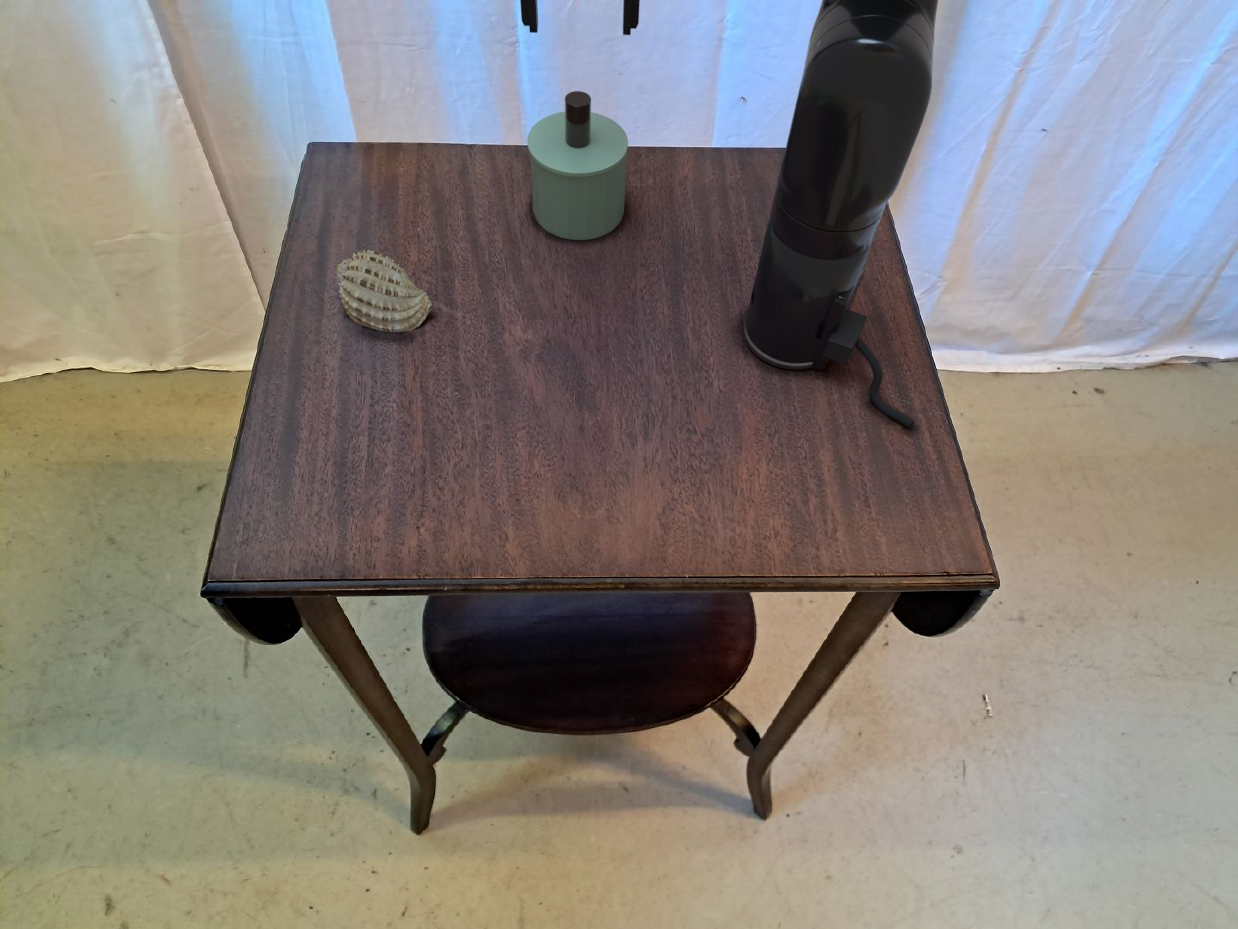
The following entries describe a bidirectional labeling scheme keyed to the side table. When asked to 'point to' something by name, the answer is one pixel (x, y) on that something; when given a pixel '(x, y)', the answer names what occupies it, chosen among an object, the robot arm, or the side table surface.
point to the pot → (578, 202)
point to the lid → (577, 140)
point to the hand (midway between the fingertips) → (580, 29)
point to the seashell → (381, 293)
